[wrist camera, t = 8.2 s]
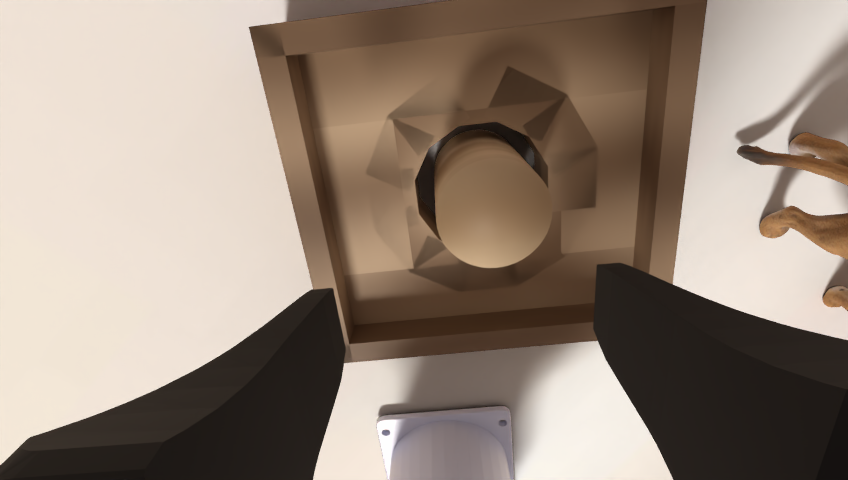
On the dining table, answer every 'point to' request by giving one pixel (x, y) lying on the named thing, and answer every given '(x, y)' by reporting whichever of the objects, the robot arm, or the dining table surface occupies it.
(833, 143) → the tan animal figurine
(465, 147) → the oak dowel
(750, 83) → the dining table surface
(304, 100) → the walnut box
